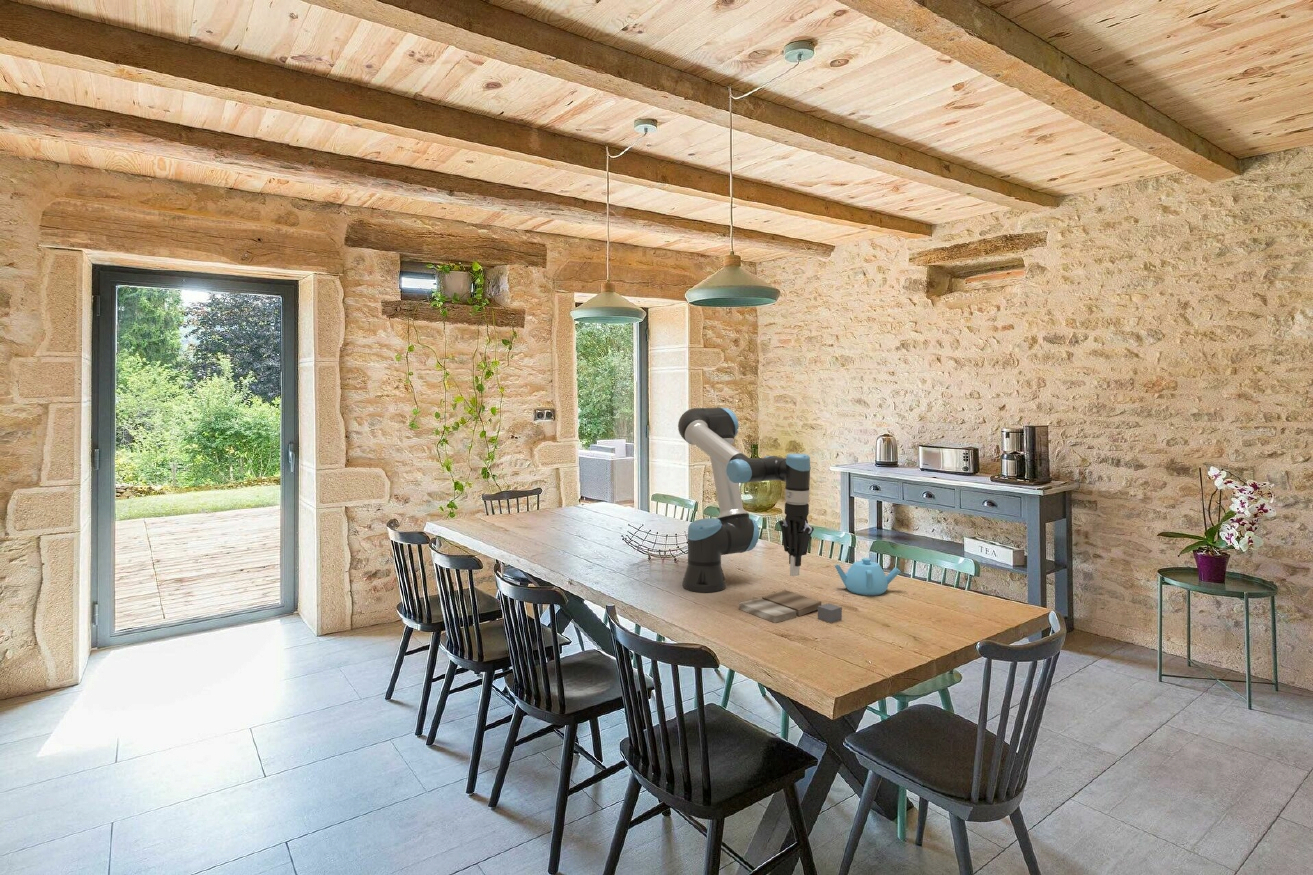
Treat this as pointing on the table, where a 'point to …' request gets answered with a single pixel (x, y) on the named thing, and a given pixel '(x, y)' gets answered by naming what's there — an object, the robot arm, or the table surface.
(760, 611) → the laid floor rows
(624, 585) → the table surface
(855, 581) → the teapot
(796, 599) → the board
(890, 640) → the table surface
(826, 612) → the block
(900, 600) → the table surface
